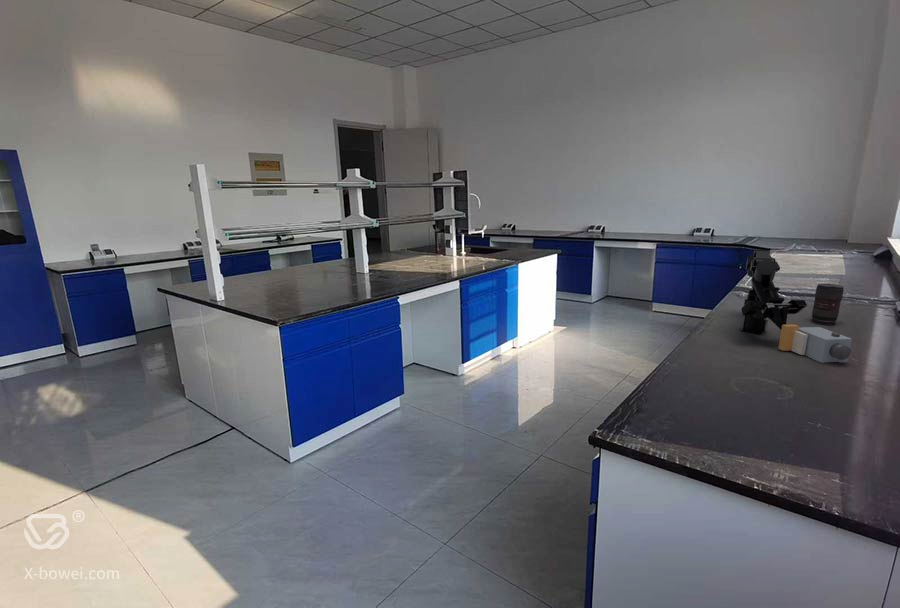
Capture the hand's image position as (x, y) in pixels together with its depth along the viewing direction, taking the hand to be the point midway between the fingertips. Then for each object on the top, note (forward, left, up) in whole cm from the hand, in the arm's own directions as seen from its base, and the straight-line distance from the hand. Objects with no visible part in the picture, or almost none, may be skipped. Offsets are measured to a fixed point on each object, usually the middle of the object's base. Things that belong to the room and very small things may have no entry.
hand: (783, 329), depth 148 cm
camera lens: (+3, +45, -7) cm, 46 cm away
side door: (+3, -2, -6) cm, 7 cm away
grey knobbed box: (+11, 0, -7) cm, 13 cm away
